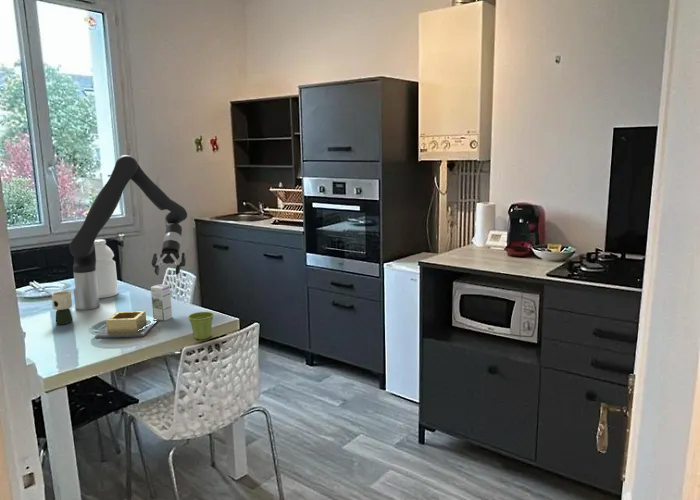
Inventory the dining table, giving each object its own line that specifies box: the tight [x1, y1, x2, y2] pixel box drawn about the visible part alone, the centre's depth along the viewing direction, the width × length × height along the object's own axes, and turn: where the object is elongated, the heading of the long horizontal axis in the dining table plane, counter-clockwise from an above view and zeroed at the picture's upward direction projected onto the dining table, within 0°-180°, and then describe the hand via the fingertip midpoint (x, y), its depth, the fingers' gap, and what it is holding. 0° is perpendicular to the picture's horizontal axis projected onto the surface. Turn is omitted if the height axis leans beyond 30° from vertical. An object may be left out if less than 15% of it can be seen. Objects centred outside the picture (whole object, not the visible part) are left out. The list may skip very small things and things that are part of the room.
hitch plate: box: [95, 310, 158, 339], centre depth 213 cm, size 18×18×6 cm
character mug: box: [51, 290, 74, 325], centre depth 223 cm, size 11×7×13 cm, turn 44°
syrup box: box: [150, 284, 173, 322], centre depth 227 cm, size 6×6×14 cm
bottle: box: [94, 238, 119, 299], centre depth 268 cm, size 14×14×28 cm
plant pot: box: [187, 311, 215, 340], centre depth 203 cm, size 9×9×9 cm
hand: (166, 273), depth 236 cm, fingers open, 8 cm apart
